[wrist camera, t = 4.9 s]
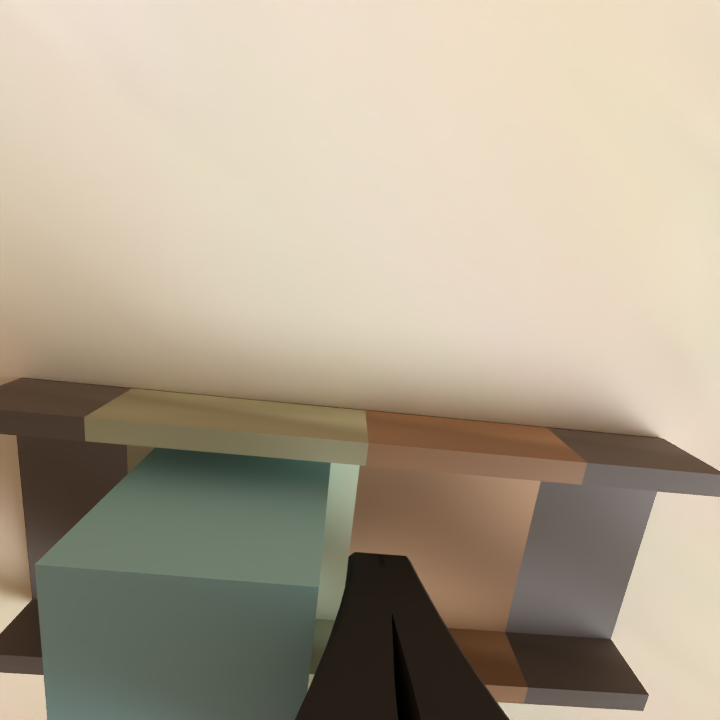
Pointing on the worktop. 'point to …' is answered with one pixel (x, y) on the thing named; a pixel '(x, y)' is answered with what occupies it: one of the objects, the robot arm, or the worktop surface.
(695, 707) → the worktop surface
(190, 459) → the teal block
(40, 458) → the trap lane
